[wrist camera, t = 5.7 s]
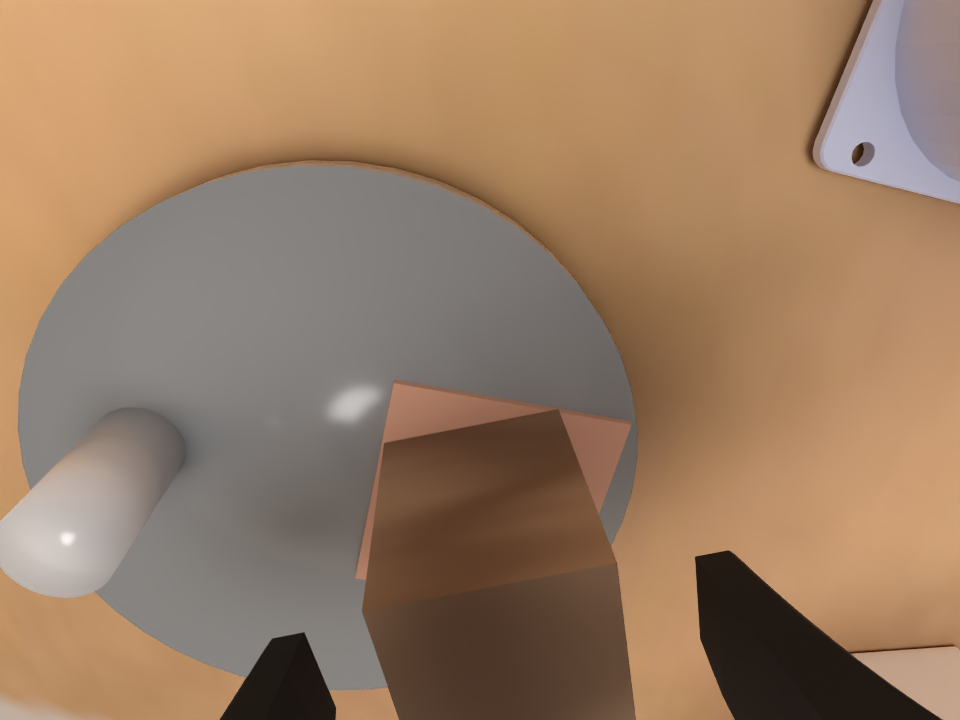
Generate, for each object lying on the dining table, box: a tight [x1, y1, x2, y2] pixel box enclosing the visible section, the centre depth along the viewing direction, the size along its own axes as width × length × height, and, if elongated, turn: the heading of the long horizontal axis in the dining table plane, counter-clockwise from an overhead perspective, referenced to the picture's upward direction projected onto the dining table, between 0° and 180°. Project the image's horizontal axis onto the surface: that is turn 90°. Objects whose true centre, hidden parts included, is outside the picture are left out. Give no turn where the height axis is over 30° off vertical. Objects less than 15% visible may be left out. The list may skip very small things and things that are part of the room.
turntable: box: [0, 160, 637, 690], centre depth 14 cm, size 14×14×5 cm
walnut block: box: [362, 409, 636, 720], centre depth 13 cm, size 4×4×5 cm
